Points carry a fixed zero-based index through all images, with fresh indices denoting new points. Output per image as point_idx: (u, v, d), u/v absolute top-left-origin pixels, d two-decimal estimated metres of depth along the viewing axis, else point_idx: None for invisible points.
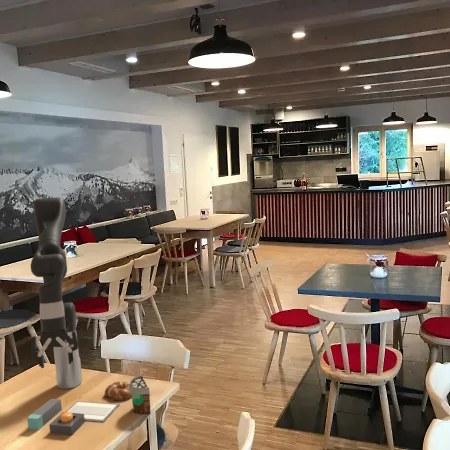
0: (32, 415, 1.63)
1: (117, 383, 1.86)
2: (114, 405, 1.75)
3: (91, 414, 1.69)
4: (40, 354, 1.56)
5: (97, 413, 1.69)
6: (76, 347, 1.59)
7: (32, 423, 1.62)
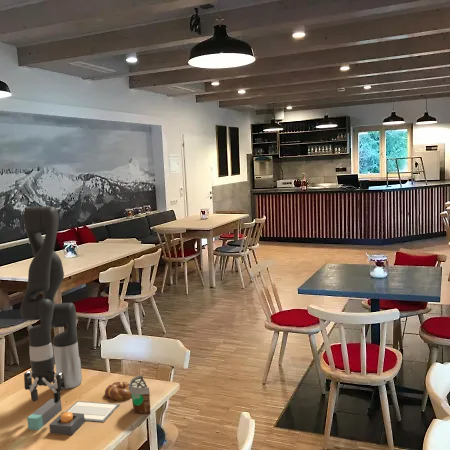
0: (32, 415, 1.63)
1: (117, 383, 1.86)
2: (114, 405, 1.75)
3: (91, 414, 1.69)
4: (31, 389, 1.68)
5: (97, 413, 1.69)
6: (60, 389, 1.65)
7: (32, 423, 1.62)
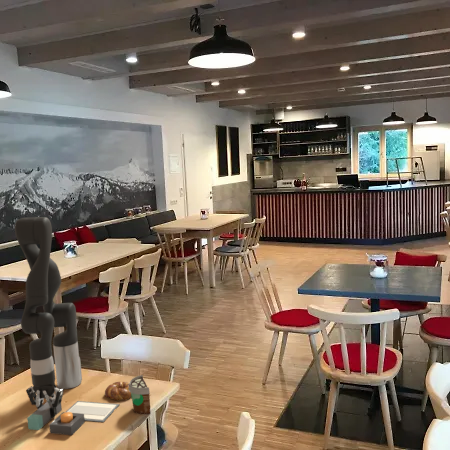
0: (32, 415, 1.63)
1: (117, 383, 1.87)
2: (114, 405, 1.75)
3: (91, 414, 1.69)
4: (38, 405, 1.68)
5: (97, 413, 1.69)
6: (56, 405, 1.66)
7: (32, 423, 1.62)
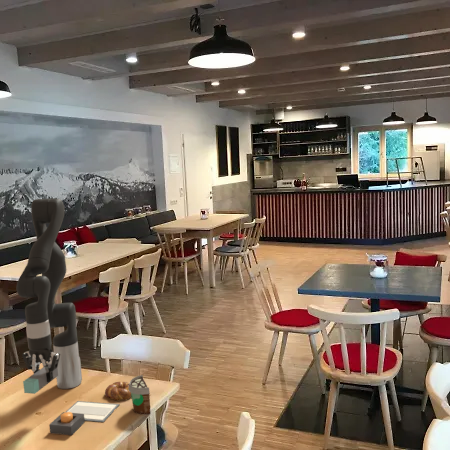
0: (28, 379, 1.62)
1: (117, 383, 1.87)
2: (114, 405, 1.75)
3: (91, 414, 1.69)
4: (34, 369, 1.67)
5: (97, 413, 1.69)
6: (52, 369, 1.65)
7: (28, 387, 1.60)
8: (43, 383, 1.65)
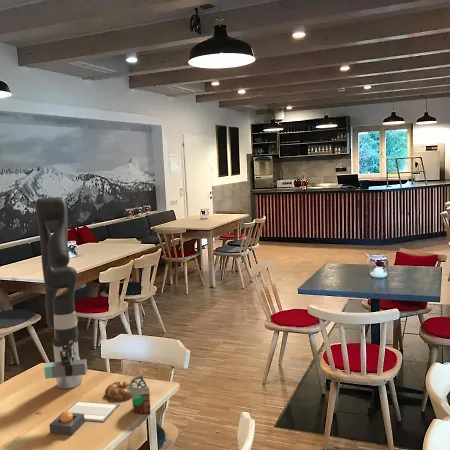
0: (51, 363, 1.69)
1: (117, 383, 1.87)
2: (114, 405, 1.75)
3: (91, 414, 1.69)
4: None
5: (97, 413, 1.69)
6: (62, 364, 1.64)
7: None
8: (59, 373, 1.67)
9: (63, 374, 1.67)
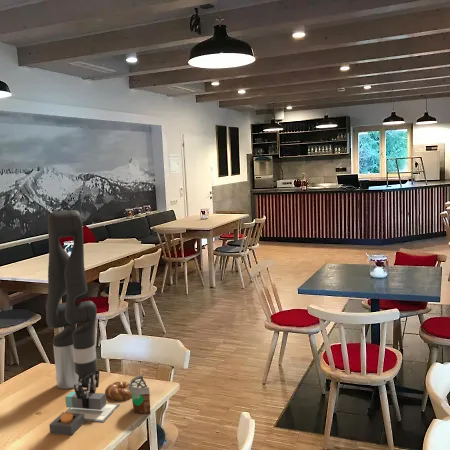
0: (74, 392, 1.74)
1: (117, 383, 1.87)
2: (114, 405, 1.75)
3: (91, 414, 1.69)
4: None
5: (97, 413, 1.69)
6: None
7: None
8: (78, 404, 1.70)
9: (81, 406, 1.70)
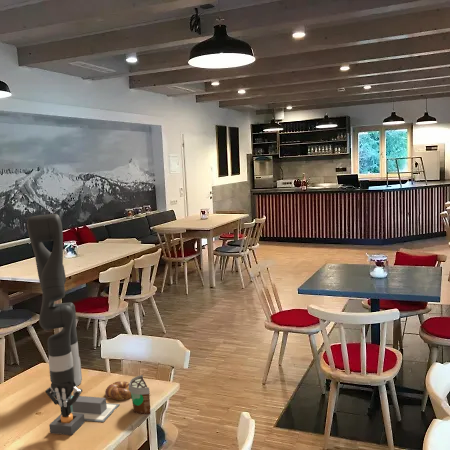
0: None
1: (118, 383, 1.87)
2: (114, 405, 1.75)
3: (91, 414, 1.69)
4: (61, 404, 1.60)
5: None
6: (70, 404, 1.59)
7: None
8: (79, 409, 1.71)
9: (82, 410, 1.70)
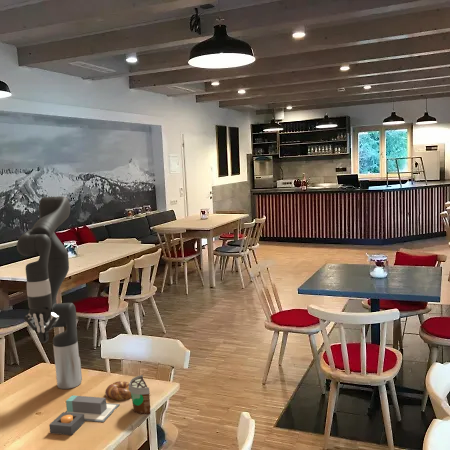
0: (75, 396, 1.74)
1: (118, 383, 1.87)
2: (114, 405, 1.75)
3: (91, 414, 1.69)
4: (39, 330, 1.65)
5: None
6: (48, 329, 1.64)
7: None
8: (79, 409, 1.71)
9: (82, 410, 1.70)
